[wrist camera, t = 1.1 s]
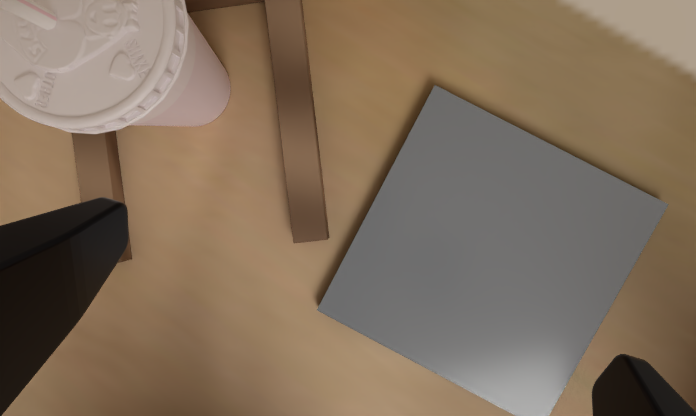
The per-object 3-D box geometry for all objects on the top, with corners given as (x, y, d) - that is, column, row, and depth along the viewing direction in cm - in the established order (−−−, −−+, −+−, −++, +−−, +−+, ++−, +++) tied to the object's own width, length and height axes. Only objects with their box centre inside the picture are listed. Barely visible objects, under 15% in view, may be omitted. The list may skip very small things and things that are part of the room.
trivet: (536, 423, 23) (541, 429, 23) (318, 307, 24) (316, 309, 23) (660, 203, 23) (668, 204, 22) (433, 87, 23) (434, 84, 22)
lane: (329, 237, 24) (324, 242, 22) (101, 262, 24) (76, 269, 22) (297, -38, 23) (290, -59, 21) (66, -4, 24) (37, -22, 22)
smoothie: (125, 27, 24) (-231, -204, 10) (253, 17, 23) (75, -236, 9) (134, 157, 24) (-200, 115, 10) (262, 150, 24) (99, 95, 10)
